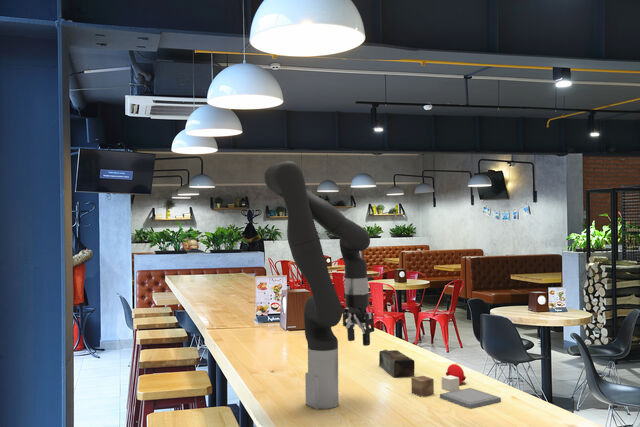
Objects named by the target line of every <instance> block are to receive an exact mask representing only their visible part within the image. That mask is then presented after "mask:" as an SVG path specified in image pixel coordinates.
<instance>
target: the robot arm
mask: <svg viewBox="0 0 640 427" xmlns="http://www.w3.org/2000/svg"><path fill="white" fill-rule="evenodd" d="M263 180H264V183H265V185H266V187H267V188H268V190H270V191H272V192H273V193H274V194H276V195H277V196H279V197H281V198H283V201H284V205H285V207H286V212H287V226H286V227H287V228H286V237H287V239H286V240H287V243H288V247H289V249H290V253H291V256H292V260H293V261H294V263H295V265H296V267H297V268H298V270H299V271H300V273H301V274H302V276H303V277H304V279H305V280H306V282H307V284H308V287H309V289H310V292H311V296H309V297H308V299H307V300H306V302H305V304H304V310H303V311H304V312H303V317H304V320H303V321H304V336H305V340H306V342H307V372H305V374H304V375H305V376H304V377H305V378H304V380H305V405H307V406H309V407H311V409H312V408H313V409H314V410H318V409H331V408H332V409H333V408H335V407H337V406H339V405H340V404H339V402H340V401H339V399H340V398H339V340H338V338H337V336H336V335H335V334H334V331H333V330H332V329H333V327H336V326H338V324H339V323H340V322H341V321H342V326H343V327H345V329H346V332H347V333H346V334H347V340H348V341H347V342H353V341H355V339H356V338H355V327H356V325H358V327H359V329H361V332H362V346H365V347H367V346H370V345H371V333H374V332H375V320H374V319H375V318H374V313H373V312H367V308H368V307H369V306H370V293H369V291H370V290H369V281H368V265H367V260H365V259H364V258H362V257H361V253H360V252H364V251H365V250H367V249H368V248H369V246H370V245H371V237H370V235H369V233H368V231H367V230H365V229H364V228H363V227H362V226H360V225H359V224H357V223H356V222H355V221H353V220H350V219H349V218H347V217H346V216H345V215H344V214H343V213H342V212H340V211H339V210H338V208H336V207H335V206H333V204H331V203H330V202H328V201H326V200H325V199H324V198H321V197H320V196H318V195H315V194H314V193H313V192H311V191H310V190H308V189H307V186H306V180H305V176H304V172H303V171H302V168H301V167H300V165H299V164H298V163H296V162H295V161H291V160H287V161H281V162H277V163H274V164H270V166H268V167H267V168H266V170H265V172H264V179H263ZM315 222H316V223H317V224H318V225H320V227H322V228H323V229H324V230H326V232H328V234H330V235H332V236H335V237H338V238H339V249H340V252H341V257H342V261H343V263H344V302H345V307H344V308H343V306H342V303H341V300H340V298H339V296H338V294H337V290H336V288H335V286H334V283H333V281H332V278H331V275H330V272H329V268H328V264H327V261H326V258H325V255H324V251H323V247H322V243H321V240H320V237H319V234H318V230H317V228H316V224H315Z"/></svg>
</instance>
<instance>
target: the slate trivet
mask: <svg viewBox="0 0 640 427" xmlns="http://www.w3.org/2000/svg"><path fill="white" fill-rule="evenodd" d="M439 399H442V400H444V401H445V400H446V401H447V400H448V401H447V402H449V403H453V402H454V404H455V405H458V404H459V405H458V406H461V405H462V407H464V408H467V409H469V408H470V409H474V407H475V408H478V407H483V405H484V406H487V405H492V404H496V403H500V402H502V397H500V396H497V395H493V394H490V393H488V392H484V391H482V390H478V389H475V388H473V387H469V388H468V387H467V388H463V389H459V390H456V391H451V392H450V391H447V392H443V393H440V394H439Z"/></svg>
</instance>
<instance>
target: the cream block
mask: <svg viewBox="0 0 640 427" xmlns="http://www.w3.org/2000/svg"><path fill="white" fill-rule="evenodd" d="M441 390H444V391H447V392H452V391H457V390H460V385H459V378H458V377H455V376H452V375H449V376H447V375H444V376H441Z"/></svg>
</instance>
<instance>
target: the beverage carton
mask: <svg viewBox="0 0 640 427" xmlns="http://www.w3.org/2000/svg"><path fill="white" fill-rule="evenodd" d="M378 358H379V359H378V361H379V362H378V363H379V365H378V366H379V367H380V368H381V369H383V370H384V371H385V372H387V373H388V374H389V375H391V376H392V377H393V378H413V377H415V360H414V359H412V358H410V357H409V356H407V355H405V354H404V353H402V352H400V351H399V350H397V349H395V350H388V349H383V350H379V355H378Z"/></svg>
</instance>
